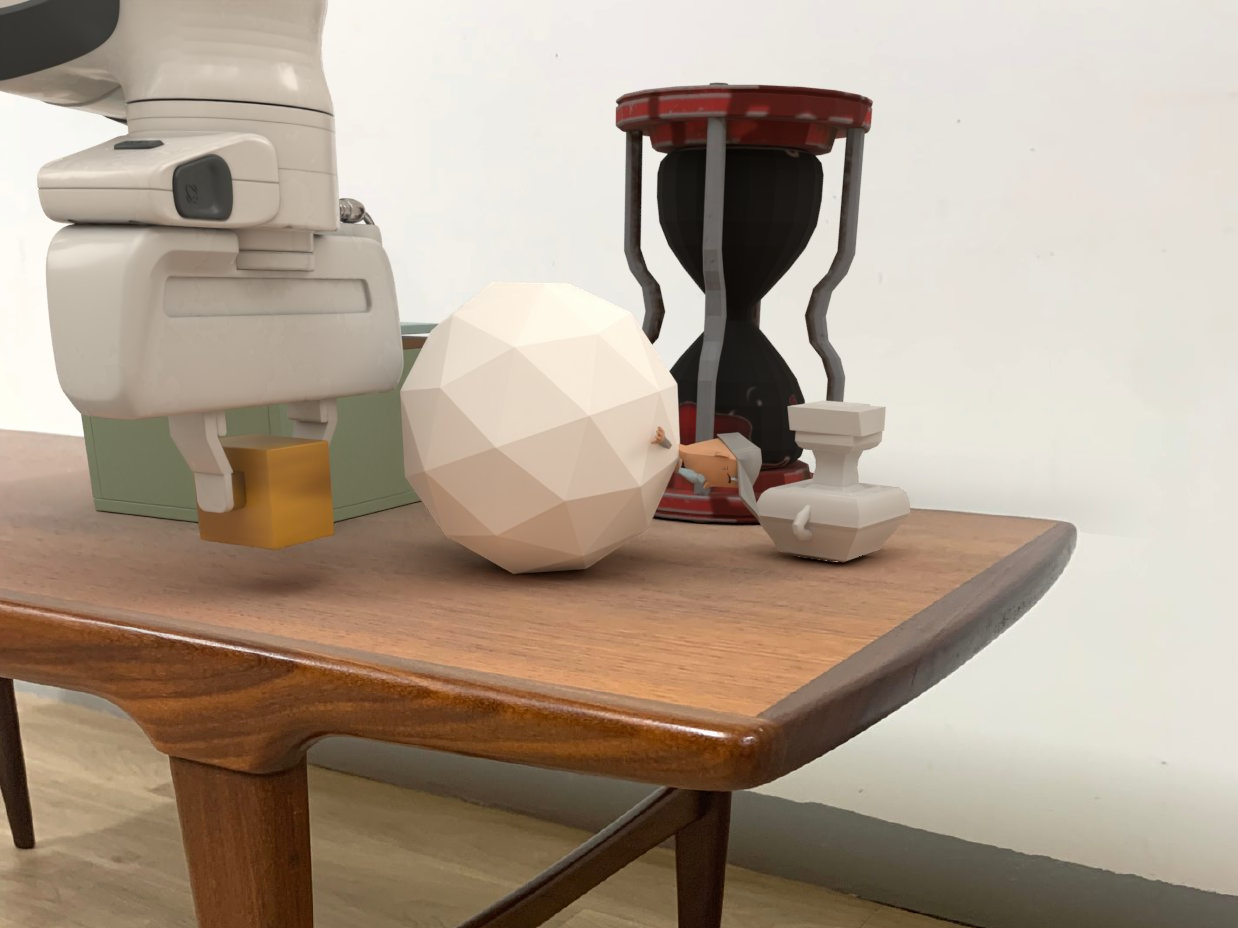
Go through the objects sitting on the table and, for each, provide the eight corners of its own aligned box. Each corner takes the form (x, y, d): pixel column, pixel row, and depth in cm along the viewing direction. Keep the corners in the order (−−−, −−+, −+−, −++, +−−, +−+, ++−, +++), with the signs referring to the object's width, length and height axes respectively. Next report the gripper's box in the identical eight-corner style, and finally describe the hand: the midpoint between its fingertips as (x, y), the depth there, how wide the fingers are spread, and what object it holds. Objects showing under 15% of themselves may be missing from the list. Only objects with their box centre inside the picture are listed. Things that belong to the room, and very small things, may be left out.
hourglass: (580, 515, 86) (581, 84, 76) (646, 481, 100) (654, 115, 90) (821, 532, 82) (856, 78, 72) (854, 494, 96) (887, 112, 86)
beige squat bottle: (846, 577, 70) (859, 414, 66) (740, 561, 73) (748, 405, 70) (914, 551, 76) (930, 402, 73) (815, 538, 80) (825, 394, 76)
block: (200, 540, 63) (189, 442, 61) (262, 525, 67) (254, 433, 65) (275, 550, 61) (266, 450, 59) (334, 535, 65) (328, 440, 63)
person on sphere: (328, 528, 63) (727, 607, 60) (383, 207, 61) (798, 273, 58) (423, 562, 77) (749, 628, 74) (470, 303, 75) (807, 360, 72)
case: (94, 510, 85) (69, 337, 80) (274, 476, 100) (261, 329, 95) (289, 533, 78) (273, 347, 74) (450, 493, 93) (444, 337, 89)
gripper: (326, 200, 67) (342, 471, 73) (0, 169, 50) (53, 526, 56) (427, 201, 65) (436, 481, 71) (121, 168, 48) (164, 542, 54)
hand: (264, 502), depth 63 cm, fingers closed on block, 4 cm apart
